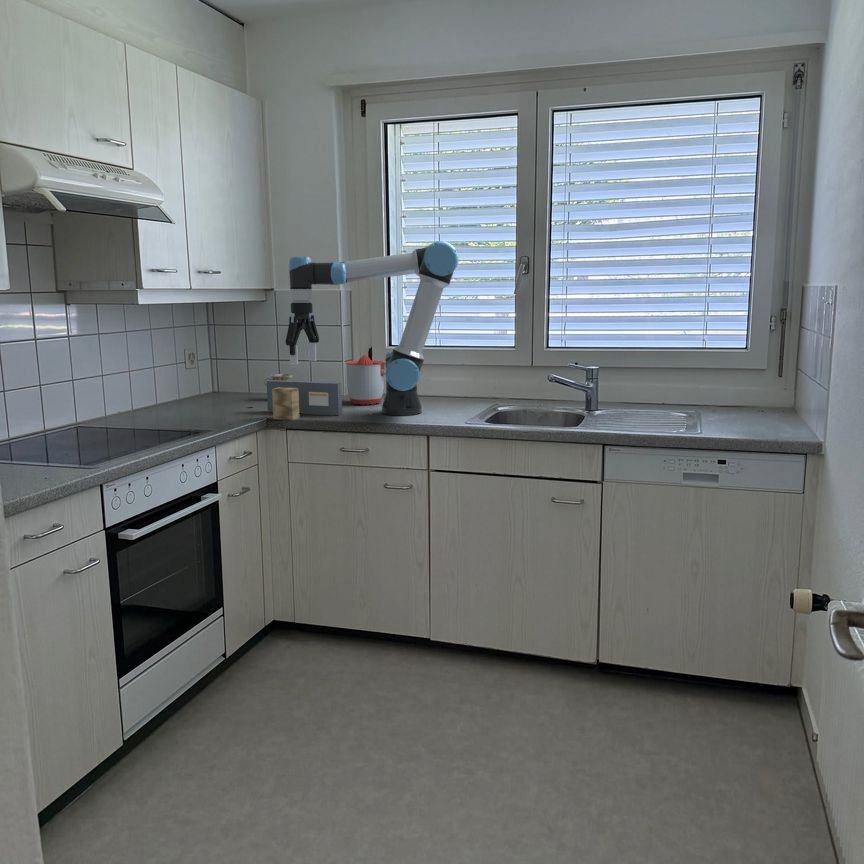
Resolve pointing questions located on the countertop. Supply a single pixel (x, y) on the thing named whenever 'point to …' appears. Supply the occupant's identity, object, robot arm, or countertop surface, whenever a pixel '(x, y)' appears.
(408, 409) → the robot arm
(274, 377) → the mug
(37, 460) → the countertop surface
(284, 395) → the oak block
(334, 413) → the panel
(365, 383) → the citrus juicer
